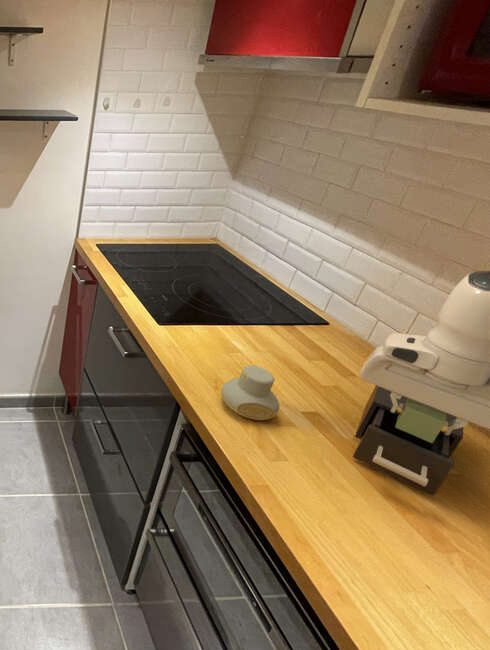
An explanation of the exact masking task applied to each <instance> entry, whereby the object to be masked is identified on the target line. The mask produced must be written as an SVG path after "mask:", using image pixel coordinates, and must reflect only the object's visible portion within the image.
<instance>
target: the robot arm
mask: <svg viewBox="0 0 490 650" xmlns="http://www.w3.org/2000/svg"><path fill="white" fill-rule="evenodd" d="M359 376H360V378H361V380H362V381H364V382H367V383H368V384H371V385H373V386H379V387H381V388H384V389H387V390H389V391H391V394H390V397H391V400H392V403H393V406H392V408H391V411H390V412H392V413H394V414H397V415H399V416H401V414H402V412H403V410H404V407H405V405H404V404H401V403H400V402H399V399H400V398H401V397H402V396H404V397H407V398H410V399H412V400H415V401H417V402H420V403H422V404H425V405H428V406H430V407H433V408H435V409H438V410H440V411H443V412H445V413H448V414H451V415H453V416H456V419H455V420H453V421H450V422H446V421H445V424H444V426H443V427H442V429H441V430H440V433H443V434H445V435H448V436H449V435H450V433H451V431H452V430H453V429H458V428H461V427H467V426H468V424H469V423H471V424H474V425H476V426H479V427H481V428H483V429H487V430H489V431H490V270H480V271H479V270H478V271H474V272H470V273H468V274H467V275H466V276H464V277H463V278H462V279H461V280H459V282H458V283H457V284H456V286H455V287H454V288H453V289H452V291H451V292H450V293H449V295H448V296H447V298H446V299H445V301H444V303H443V304H442V306H441V307H440V309H439V312H438V314H437V321H436V324H435V325H434V327H432V329H430V330H429V331H427V334H426V335H420V334H409V333H400V332H392V333H389V334H388V336H387V337H386V338H385V340H384V343H383V344H381V345H378V346H377V347H375V348H374V350H372V351H371V353H370V354H369V355H368V357H367V358H366V360H365V361H364V363H363V365H362V367H361V368H360V370H359Z"/></svg>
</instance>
